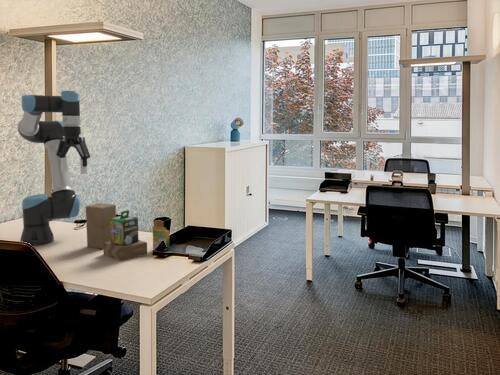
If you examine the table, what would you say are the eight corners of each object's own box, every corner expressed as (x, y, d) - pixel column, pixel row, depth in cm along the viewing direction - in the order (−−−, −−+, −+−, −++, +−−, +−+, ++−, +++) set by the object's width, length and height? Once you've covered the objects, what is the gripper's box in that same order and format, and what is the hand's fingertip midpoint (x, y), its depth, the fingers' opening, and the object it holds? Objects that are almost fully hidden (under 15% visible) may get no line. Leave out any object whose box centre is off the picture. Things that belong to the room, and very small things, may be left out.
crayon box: (169, 250, 216) (169, 226, 214) (166, 251, 213) (166, 227, 212) (156, 248, 218) (155, 224, 217) (152, 250, 216) (152, 226, 214)
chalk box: (125, 238, 214) (124, 207, 212) (139, 241, 209) (138, 210, 207) (109, 243, 207) (108, 210, 205) (123, 246, 202) (122, 213, 200)
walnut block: (103, 255, 208) (103, 242, 208) (130, 249, 219) (129, 237, 218) (120, 261, 199) (119, 248, 198) (147, 255, 209) (147, 242, 208)
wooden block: (103, 249, 216) (101, 208, 213) (86, 246, 220) (85, 206, 217) (117, 244, 225) (116, 204, 222) (101, 242, 229) (100, 202, 226)
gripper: (46, 125, 208) (49, 171, 211) (83, 126, 195) (85, 175, 198) (60, 125, 214) (63, 170, 217) (97, 126, 202) (99, 173, 205)
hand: (73, 172), depth 208 cm, fingers open, 13 cm apart
